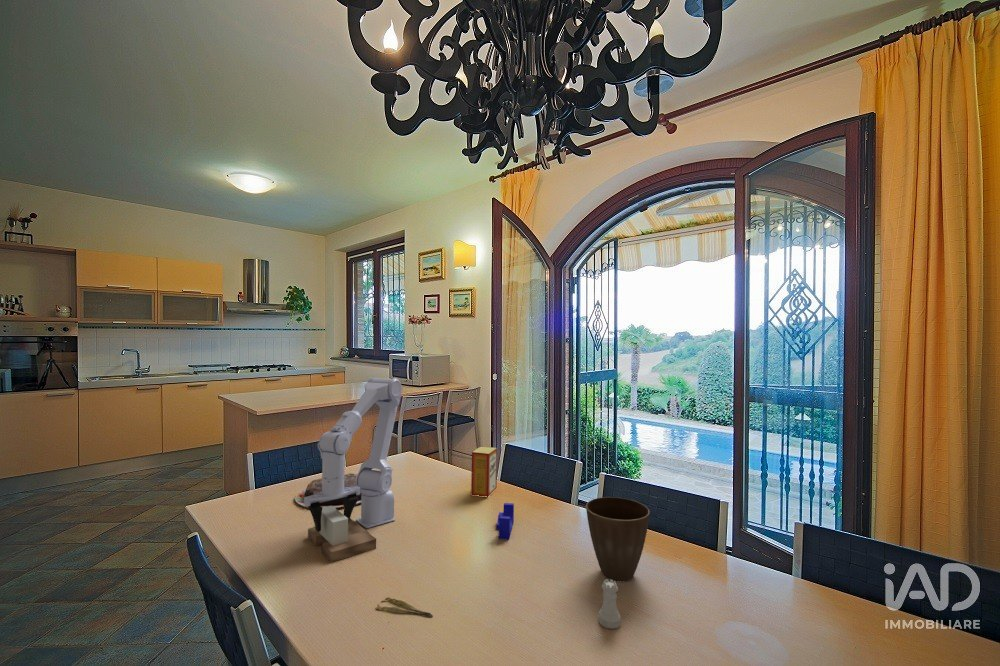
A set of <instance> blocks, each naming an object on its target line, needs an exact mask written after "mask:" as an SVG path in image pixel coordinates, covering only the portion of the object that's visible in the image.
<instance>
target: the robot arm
mask: <svg viewBox="0 0 1000 666" xmlns="http://www.w3.org/2000/svg"><path fill="white" fill-rule="evenodd" d="M402 392H403V385H402V384H401V381H400V380H399V378H394V377H393V378H385V377H375V376H373V377H372V376H371V377H369V379H368V380H367V382H366V383H365V384H364V391H363V393H362V395H361V396H360V398H359V399H358V400H357V402H356V403H355V405H354V406H353V408H352V410H347V411H345V412H343V413H342V414H341V416H340V418H339V419H338V420H337V422H335V424H334V425H333V426H332V427H331V429H330V430H328V431H325V432H323V433H322V434H321V435H320V437H319V439H318V443H317V444H316V445H317V450H318V451H319V452H320V458H321V459H322V462H321V463H322V469H321V470H322V471H321V472H322V473H321V478H322V492H320V493H317V494H314V495H311V496H308V497H304V505H305V506H306V507H307V506H308V508H309V509H308V508H307V509H308V510H309V511H310V515H311V516H312V519H313V523H314V527H315V530H316V531H317V532H319V531H321V514H322V509H323V508H322V507H321V506H320V504H319V503H321V502H325V501H330V500H334V499H339V498H343V504H344V507H343V515H344V516H346V517H347V518H348V524H349V521H350V519H351V517H352V513H353V511H354V508H355V507H356V506H355V504H356V503H357V501H358V497H357V496H356V495H360V493H361V504H360V517H357V518H355V522H356V523H359V524H361V525H360V526H363V528H365V529H369V528H373V527H376V526H380V525H384V524H387V523H390V522H394V521H396V518H395V497H394V496H395V495H394V493H393V491H392V489H390V488H391V486H392V483H393V476H392V473H393V468H392V466H391V465H390V464H389V462H387V458H388V454H389V449H390V444H391V439H392V435H393V431H394V425H395V421H396V416H397V411H398V407H399V405H400V402H401V398H402ZM374 404H376V405H377V406H378V408H379V413H378V417H377V420H376V421H377V422H376V425H375V430H374V434H373V438H372V439H373V440H372V442H371V443H372V444H371V448H370V452H369V457H368V459H366V460H365V461H364V462H363V463H361V465H360V468H359V470H358V473H357V474H356V475H357V476H356V486H355V487H347V488H344V475H345V473H346V472H345V468H346V467H345V466H346V463H345V462H346V453H347V451H348V450H349V448H350V447H351V442H352V440H353V435H355V433H356V431H357V430H358V429H359V428H360V426H361V425H362V423H363V420H362V417H363V416H364V415H365V414H366V413H367V412H368V411H369V410H370V408H371V407H372V406H373V405H374Z"/></svg>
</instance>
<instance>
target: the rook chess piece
mask: <svg viewBox="0 0 1000 666" xmlns="http://www.w3.org/2000/svg"><path fill="white" fill-rule="evenodd" d="M601 589H602V591H603V592H602V596H603V601H602V606H601V607H600V610H599V612H598V617H597V619H598V622H599V624H600V625H601V626H602V627H603V628H606V629H608V628H609V630H614V629H615V628H616V629H617V627H618V628H620V626H621V624H622V620H621V619H622V617H621V613H620V612H619V609H618V608H617V607H618V606H617V598H618V595H617V592H618V590H619V587H618V584H617V581H613V580H611V579H608V578H606V579H604V580H603V583H602V585H601Z"/></svg>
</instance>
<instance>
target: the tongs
mask: <svg viewBox="0 0 1000 666" xmlns="http://www.w3.org/2000/svg"><path fill="white" fill-rule="evenodd" d="M381 602H382V603H383V602H386V603H387V602H389V603H393V604H396V605H398V606H401V607H403V608H405V609H403V608H399V607H395V606H381V605H380V604H379V603H378V604H377V606H376V607H375V609H376V610H380V611H387V612H394V613H402V614H409V615H411V614H412V615H416V616H423V617H426V618H433V617H434V615H433V614H432V613H431V612H428V611H422V610H420V609H417V608H415V607H414V606H413V605H411V604H409V603H408V602H406V601H404V600H401V599H396V598H392V597H390V596H389V597H388V596H387V597H385V598H384V599H383V600H381ZM406 609H407V610H406Z"/></svg>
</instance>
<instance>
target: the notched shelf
mask: <svg viewBox="0 0 1000 666" xmlns="http://www.w3.org/2000/svg"><path fill="white" fill-rule="evenodd" d="M307 538H308V540H309V541H310V542H311V543H312V544H313V543H314V544H315V545H317V546H321V545H322V546H321V550H322V551H321V553H322V554H323V555H324V556H325V558H327V560H328V561H329V560H330V561H329V562H330V563H334V562H336V561H340V560H342V559H347V558H349V557H352V556H357V555H359V554H362V553H365V552H368V551H372V550H375V549H377V538H376V537H375V536H373V535H372V533H370V532H368V530H366V529H364V527H362V525H359V524H358V522H357V521H354V520H353V519H352V518H350V521H349V524H348V542H344V543H341V544H337V545H334V546H332V545H331V544H330V543H329V542H328V541H327V540H326V539H325V538H324V537H323V536H322V535H321V534H320V533H319V532H317V531H316V530H315V526H313V527H309V528H307ZM314 544H313V545H314ZM320 544H321V545H320ZM315 545H314V546H315Z"/></svg>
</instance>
